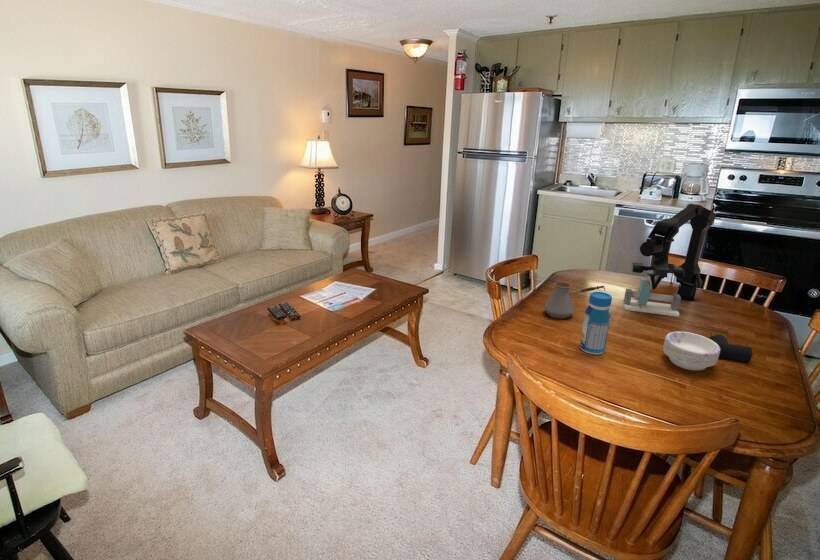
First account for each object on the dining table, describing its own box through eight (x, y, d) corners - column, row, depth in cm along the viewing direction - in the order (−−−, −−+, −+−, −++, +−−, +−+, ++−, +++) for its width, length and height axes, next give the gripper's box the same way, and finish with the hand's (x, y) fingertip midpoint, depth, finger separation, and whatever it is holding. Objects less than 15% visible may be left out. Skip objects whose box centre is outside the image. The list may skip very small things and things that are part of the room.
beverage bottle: (593, 357, 149) (602, 301, 142) (573, 346, 156) (581, 292, 149) (610, 352, 153) (620, 297, 146) (590, 341, 160) (599, 288, 153)
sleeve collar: (644, 299, 191) (648, 279, 188) (646, 305, 186) (650, 284, 183) (636, 298, 192) (640, 279, 189) (638, 304, 187) (642, 283, 184)
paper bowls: (715, 381, 136) (721, 357, 134) (658, 366, 144) (663, 344, 141) (714, 360, 149) (720, 338, 146) (662, 347, 156) (667, 327, 154)
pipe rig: (674, 307, 190) (677, 292, 188) (678, 316, 181) (682, 300, 179) (622, 301, 196) (625, 286, 194) (624, 309, 187) (627, 293, 185)
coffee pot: (541, 317, 179) (545, 281, 174) (546, 307, 189) (550, 273, 184) (598, 328, 170) (604, 291, 165) (600, 316, 180) (606, 281, 175)
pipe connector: (693, 327, 160) (743, 335, 155) (690, 341, 162) (739, 348, 157) (700, 342, 150) (753, 350, 145) (696, 356, 152) (749, 365, 147)
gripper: (637, 255, 176) (630, 293, 182) (692, 261, 171) (683, 299, 176) (634, 248, 186) (627, 284, 192) (685, 253, 181) (677, 289, 186)
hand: (653, 289), depth 186 cm, fingers closed
